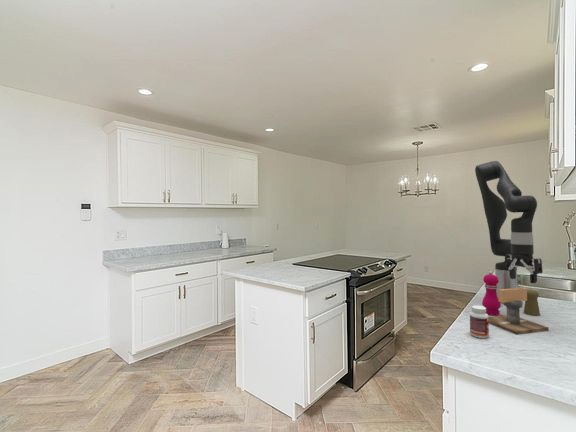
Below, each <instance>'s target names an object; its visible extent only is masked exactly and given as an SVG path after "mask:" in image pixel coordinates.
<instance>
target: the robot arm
mask: <svg viewBox="0 0 576 432" xmlns="http://www.w3.org/2000/svg"><path fill="white" fill-rule="evenodd" d="M474 171H475V177H476V181H477V184H478V188H479V190H480V194H481V200H482V205H483V209H484V210H483V211H484V214H485V219H486V222H487V226H488V227H487V228H488V232H489V241H490V243H489V244H490V249H491V252H492V254H493V256H498V257H504V260H503V261H501V262H500V261H499V262H495V264H494V266H495V271H494V272H495V274H494V275H495V276H497V277H498V280H499V282H498V284H497V289H496V293H497V297H498V299H499V294H498V289H511V288H519V287H520V286H519V284H518V267H521V268H525V269H526V270H528V272H529V283H530V284H537V282H538V275H539V274H543V271H544V270H543V263H542V262H543V260H542V258H541V257H540V258H539V257H538V258H534V253H535V251H534V235H533V221H534V217H535V213H536V211H537V207H538V202H537V199H536V198H535V197H534V195H533V196H532V195H523V194H522V190H521V189H520V188H519V187H518V186H517V185H516V184H515V183H514V182H513V181H512V180H511V178H510V176H509V174H508V173H507V171H506V170H505V167H503V165H502V164H501V163H500V161H498V160H493V161H492V160H491V161H489V162H488V161H487V162H483V163H481V164H479V165H477V164H476V165H475V169H474ZM497 179H498V182H497V184H496V191H497V193H498V194H499V196H500V197H501V198H502V199H501V198H500V197H499V196H498V195H497V194H496V193H494V192H493V191H492V190H491V188H490V186H489V185H488V182H490V181H494V180H497ZM507 211H508V212H510V213H515V214H516V213H522V214H521V216H518V217H516V218H513V219H511V221H510V239H509V238H507V239H506V238H501V234H500V232H501V229H502V226H503V225H504V223H505V222H506V220H507V217H508V212H507ZM500 304H504V303H503V302H500Z"/></svg>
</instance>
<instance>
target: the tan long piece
mask: <svg viewBox="0 0 576 432" xmlns="http://www.w3.org/2000/svg"><path fill="white" fill-rule="evenodd" d="M527 290H528V288H527V287H525V286H521V285H520V286H519V288H511V289H498V294H499V302H500V303H501V302H503V303H502V304H503V306H505V307H507V306H508V307H512V308H520V309H521V308H523V302H525V301H527Z"/></svg>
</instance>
